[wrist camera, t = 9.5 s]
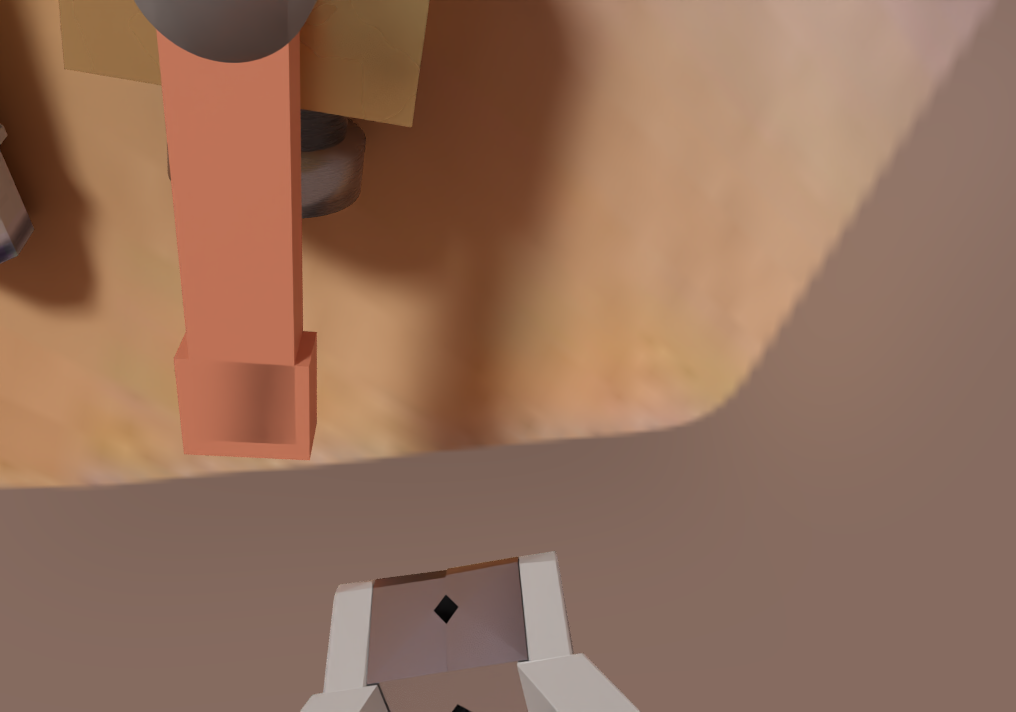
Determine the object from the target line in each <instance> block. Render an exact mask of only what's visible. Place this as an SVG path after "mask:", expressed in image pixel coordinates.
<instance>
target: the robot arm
mask: <svg viewBox="0 0 1016 712" xmlns="http://www.w3.org/2000/svg"><path fill="white" fill-rule="evenodd" d="M300 712H640V711H639V709H638V708H637V707H636V706H635V705H634V704H633V703H632V702H631V701H630V700H629V699H628V698H627V697H626V696H625V695H624V694H623V693H622V692H621V691H620V690H619V689H618V688H617V687H616V686H615V685H614V684H613V683H612V682H611V681H610V680H609V679H608V678H607V677H606V676H605V674H603V672H602V671H600V670H599V668H598V667H596V665H595V664H594V663H593V662H592V661H591V660H590V659H589V658H588V657H587V656H586V655H585V654H584V653H579V654H574V653H573V646H572V640H571V634H570V628H569V622H568V616H567V611H566V605H565V599H564V593H563V587H562V581H561V575H560V570H559V564H558V558H557V555H556V552H555V551H553V552H547V553H541V554H535V555H528V556H522V557H513V558H507V559H501V560H496V561H489V562H483V563H478V564H472V565H466V566H460V567H454V568H448V569H447V570H443V571H435V572H428V573H420V574H412V575H405V576H397V577H390V578H382V579H376V580H369V581H362V582H356V583H348V584H341V585H339V586H338V589H337V591H336V593H335V596H334V603H333V611H332V620H331V629H330V638H329V646H328V655H327V664H326V673H325V681H324V691H323V693H319V694H314V695H312V696H311V697H310V699H309V700H308V701H307V703H306V704H305V705H304V707H303V708H302V709H301V711H300Z"/></svg>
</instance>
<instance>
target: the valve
mask: <svg viewBox="0 0 1016 712" xmlns="http://www.w3.org/2000/svg"><path fill="white" fill-rule="evenodd" d="M428 7H429V0H317V2H316V4H315V6H314V7H313V9H312V11H311V13H310V15H309V16H308V18H307V20H306V22H305V24H304V25H303V27H302V28H301V30H300V114H301V203H302V218H311V217H318V216H323V215H327V214H331V213H334V212H337V211H340V210H342V209H344V208H346V207H348V206H350V205H351V204H352V203H353V202H355V201H356V199H357V198H358V197H359V194H360V189H361V180H362V171H363V162H364V153H365V144H366V137H365V134H364V132H363V131H362V129H361V128H360V127H359V126H358V125H357V124H355V123H354V122H353V121H351V120H350V119H348V117H352V118H358V119H364V120H370V121H376V122H382V123H388V124H394V125H400V126H406V127H412V122H413V115H414V108H415V100H416V93H417V86H418V79H419V72H420V64H421V57H422V50H423V43H424V36H425V29H426V21H427V14H428ZM59 9H60V22H61V34H62V46H63V59H64V69H68V70H74V71H80V72H86V73H92V74H98V75H103V76H109V77H115V78H121V79H127V80H133V81H139V82H145V83H151V84H157V85H162V83H161V72H160V62H159V52H158V42H157V32H156V28H155V27H154V26H153V25H152V24H151V23H150V22H149V21H148V20H147V19H146V17H145V16H144V15H143V13H142V12H141V10H140V9H139V8H138V6H137V5H136V3H135V1H134V0H59ZM167 160H168V176H169V179H170V180H171V174H170V164H169V154H168V144H167Z"/></svg>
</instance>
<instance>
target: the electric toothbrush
mask: <svg viewBox="0 0 1016 712" xmlns="http://www.w3.org/2000/svg"><path fill="white" fill-rule="evenodd" d="M7 136H8V135H7V133H6V131H5V128H4V126H3V125H2V124H0V145H1V143H2V142H3V141H4V139H5V138H6V137H7ZM33 231H34V227H33V225H32V223H31V220H30V218H29V216H28V213H27V211H26V209H25V206H24V204H23V202H22V200H21V197H20V195H19V193H18V190H17V188H16V186H15V183H14V181H13V179H12V176H11V174H10V172H9V169H8V167H7V165H6V163H5V160H4V158H3V156H2V153H1V151H0V263H3V262H5V261H7V260H9V259H12V258H14V257H16V256H18V255H19V253H20V252H21V250H22V248H23V247H24V245H25V243H26V242H27V240H28V239H29V237H30V235H31V234H32V232H33Z"/></svg>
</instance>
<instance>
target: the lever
mask: <svg viewBox="0 0 1016 712" xmlns="http://www.w3.org/2000/svg"><path fill="white" fill-rule="evenodd" d="M134 1H135V3H136V5H137V6H138V8H139V9H140V10H141V12H142V13H143V15H144V16H145V17H146V19H147V20H148V21H149V22H150V23H151V24H152V25H153V26H154V27H155V28H156V32H157V42H158V52H159V62H160V72H161V83H162V93H163V103H164V113H165V123H166V133H167V144H168V154H169V164H170V174H171V184H172V194H173V204H174V215H175V225H176V235H177V245H178V255H179V265H180V276H181V286H182V296H183V306H184V316H185V326H186V333H185V335H184V337H183V339H182V342H181V344H180V346H179V348H178V350H177V353H176V355H175V357H174V365H175V375H176V384H177V393H178V402H179V411H180V420H181V429H182V438H183V447H184V454H193V455H214V456H234V457H255V458H275V459H296V460H310V455H311V450H312V445H313V439H314V434H315V429H316V424H317V332H306V331H303V292H302V203H301V114H300V30H301V28H302V27H303V25H304V24H305V22H306V20H307V18H308V16H309V15H310V13H311V11H312V9H313V7H314V6H315V4H316V2H317V0H134Z"/></svg>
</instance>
